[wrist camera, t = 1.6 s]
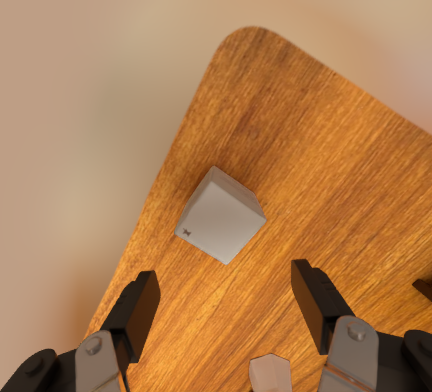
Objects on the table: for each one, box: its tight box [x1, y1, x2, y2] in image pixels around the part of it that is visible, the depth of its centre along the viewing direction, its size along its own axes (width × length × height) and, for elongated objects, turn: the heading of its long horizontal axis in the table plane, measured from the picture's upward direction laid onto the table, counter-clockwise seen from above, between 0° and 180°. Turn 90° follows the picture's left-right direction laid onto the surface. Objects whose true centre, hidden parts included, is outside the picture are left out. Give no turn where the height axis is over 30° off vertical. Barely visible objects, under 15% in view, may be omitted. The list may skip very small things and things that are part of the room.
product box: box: [174, 165, 267, 265], centre depth 21 cm, size 6×6×7 cm
